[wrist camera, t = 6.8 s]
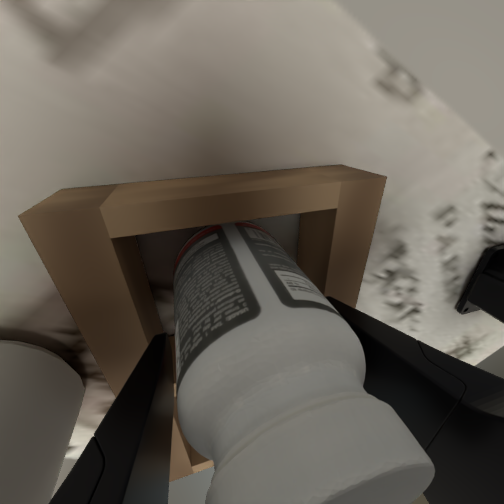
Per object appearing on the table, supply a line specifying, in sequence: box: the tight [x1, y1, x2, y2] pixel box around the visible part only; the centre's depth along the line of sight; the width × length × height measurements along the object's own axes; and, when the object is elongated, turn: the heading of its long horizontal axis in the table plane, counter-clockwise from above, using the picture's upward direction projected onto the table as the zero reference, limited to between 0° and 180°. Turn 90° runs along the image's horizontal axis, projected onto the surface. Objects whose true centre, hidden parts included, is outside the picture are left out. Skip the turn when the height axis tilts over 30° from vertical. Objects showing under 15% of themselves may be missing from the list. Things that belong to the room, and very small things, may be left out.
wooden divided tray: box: [18, 165, 387, 482], centre depth 14 cm, size 12×18×3 cm, turn 2°
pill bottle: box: [173, 221, 435, 504], centre depth 9 cm, size 6×6×10 cm
